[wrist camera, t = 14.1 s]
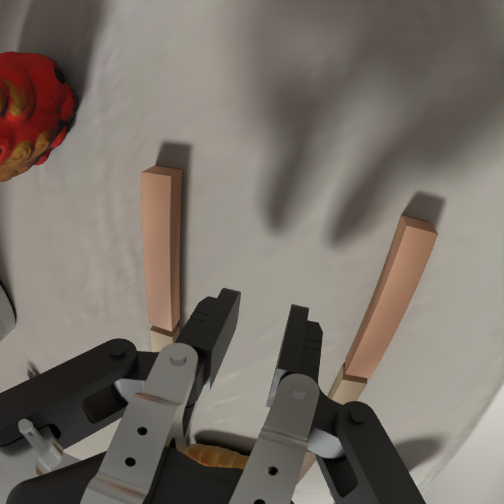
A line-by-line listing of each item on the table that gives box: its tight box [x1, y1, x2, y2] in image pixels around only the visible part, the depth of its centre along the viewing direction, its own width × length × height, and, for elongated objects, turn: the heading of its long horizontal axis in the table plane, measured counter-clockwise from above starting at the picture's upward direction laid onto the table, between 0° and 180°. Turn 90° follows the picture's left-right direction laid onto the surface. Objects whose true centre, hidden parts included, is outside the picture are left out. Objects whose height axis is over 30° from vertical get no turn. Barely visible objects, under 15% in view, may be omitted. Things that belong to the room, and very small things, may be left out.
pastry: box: [184, 443, 249, 469], centre depth 25 cm, size 9×7×4 cm
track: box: [142, 166, 438, 485], centre depth 20 cm, size 13×28×1 cm, turn 173°
